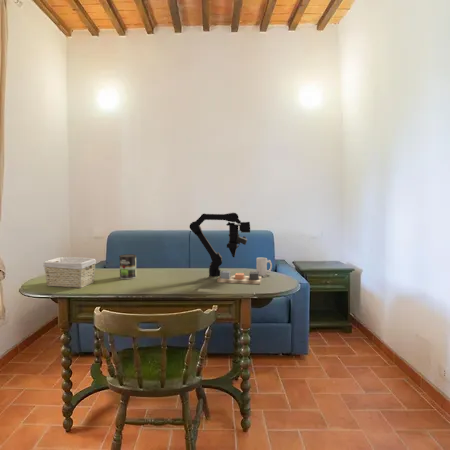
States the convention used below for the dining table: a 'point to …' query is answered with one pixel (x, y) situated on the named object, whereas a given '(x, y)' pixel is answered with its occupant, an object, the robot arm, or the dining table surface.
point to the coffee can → (128, 266)
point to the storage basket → (70, 271)
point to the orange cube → (239, 276)
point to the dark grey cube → (254, 276)
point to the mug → (263, 266)
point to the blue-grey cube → (225, 274)
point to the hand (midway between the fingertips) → (233, 257)
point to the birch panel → (239, 280)
